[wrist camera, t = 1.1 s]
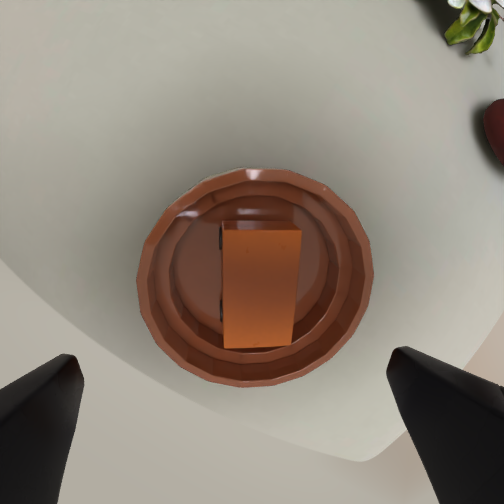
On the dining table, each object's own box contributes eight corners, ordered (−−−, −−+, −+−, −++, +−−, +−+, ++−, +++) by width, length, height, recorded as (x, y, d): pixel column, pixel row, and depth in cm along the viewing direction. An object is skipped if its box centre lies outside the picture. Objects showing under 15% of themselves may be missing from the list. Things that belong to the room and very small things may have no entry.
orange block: (282, 318, 20) (293, 345, 17) (219, 320, 19) (221, 349, 16) (289, 217, 18) (305, 230, 15) (218, 217, 17) (219, 229, 14)
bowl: (330, 343, 22) (350, 376, 18) (163, 350, 20) (154, 387, 16) (353, 173, 18) (386, 178, 14) (148, 168, 16) (128, 170, 12)
